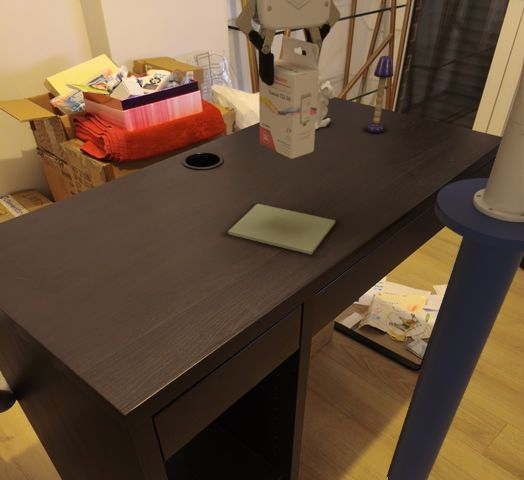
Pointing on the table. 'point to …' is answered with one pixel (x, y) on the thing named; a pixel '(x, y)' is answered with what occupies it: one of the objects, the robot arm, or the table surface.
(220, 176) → the table surface
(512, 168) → the robot arm
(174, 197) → the table surface
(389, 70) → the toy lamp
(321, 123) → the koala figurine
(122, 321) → the table surface
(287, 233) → the mat
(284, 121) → the ink cartridge box
